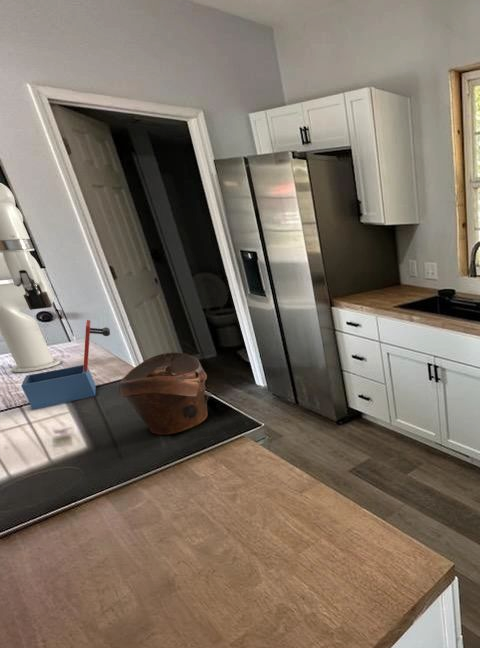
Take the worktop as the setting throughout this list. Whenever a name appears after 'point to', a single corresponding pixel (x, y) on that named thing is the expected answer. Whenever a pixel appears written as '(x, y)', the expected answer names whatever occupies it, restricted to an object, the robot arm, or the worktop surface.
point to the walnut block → (44, 299)
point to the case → (167, 392)
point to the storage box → (58, 386)
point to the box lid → (104, 331)
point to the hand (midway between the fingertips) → (40, 306)
